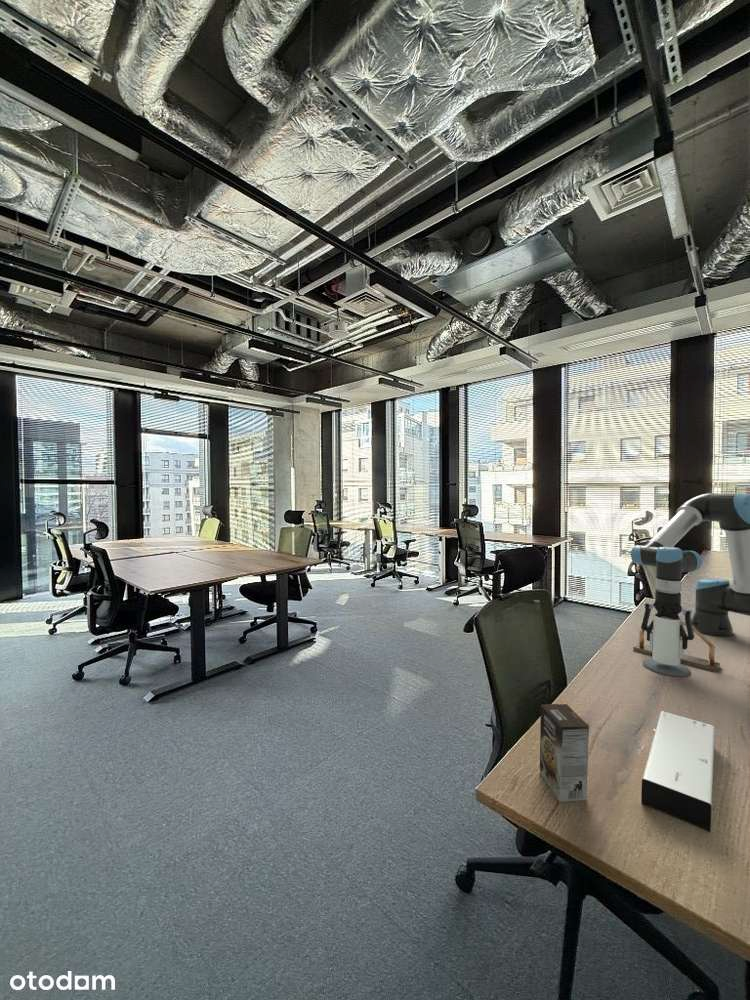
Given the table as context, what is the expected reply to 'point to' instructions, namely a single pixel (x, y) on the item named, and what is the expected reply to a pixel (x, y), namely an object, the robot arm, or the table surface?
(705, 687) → the table surface
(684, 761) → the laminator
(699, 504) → the robot arm
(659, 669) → the mat
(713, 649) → the buzz wire
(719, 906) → the table surface
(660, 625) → the cup
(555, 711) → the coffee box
